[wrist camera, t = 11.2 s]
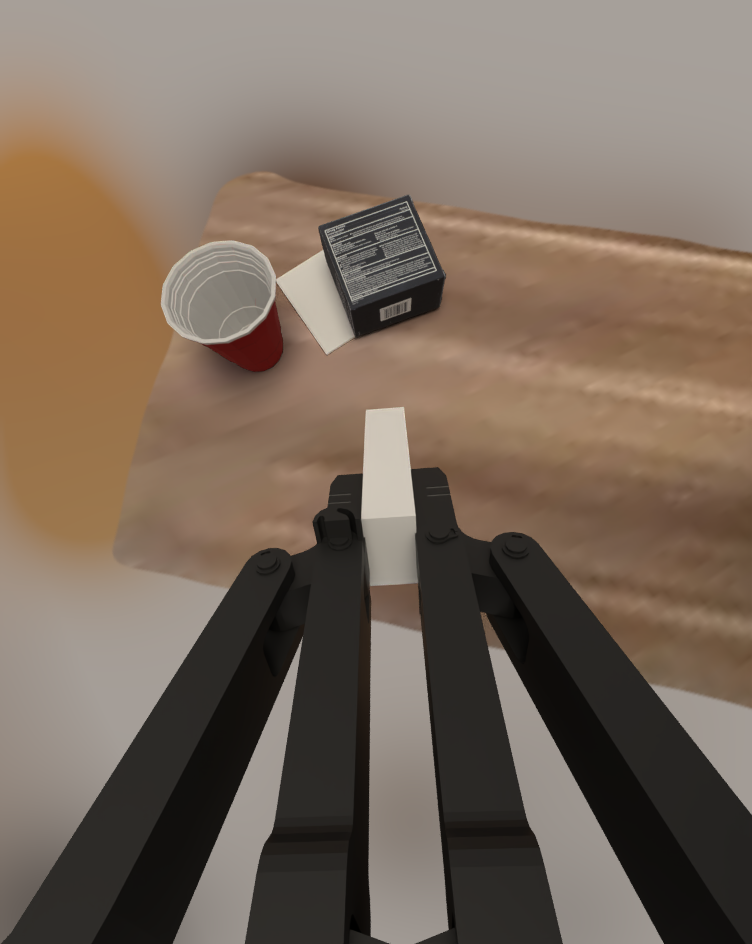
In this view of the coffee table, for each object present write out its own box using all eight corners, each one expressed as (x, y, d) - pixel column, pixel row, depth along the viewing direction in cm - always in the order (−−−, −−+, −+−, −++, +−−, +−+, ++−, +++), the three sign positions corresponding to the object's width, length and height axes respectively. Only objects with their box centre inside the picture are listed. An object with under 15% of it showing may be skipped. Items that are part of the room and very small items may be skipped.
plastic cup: (294, 294, 53) (263, 221, 41) (313, 378, 51) (285, 326, 39) (206, 317, 53) (150, 250, 41) (221, 401, 51) (166, 356, 39)
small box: (441, 310, 51) (409, 233, 53) (448, 275, 45) (412, 190, 47) (354, 340, 51) (325, 262, 53) (348, 310, 45) (316, 222, 46)
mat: (420, 295, 52) (420, 293, 52) (326, 355, 51) (326, 354, 51) (366, 224, 54) (366, 222, 54) (276, 281, 53) (275, 280, 53)
